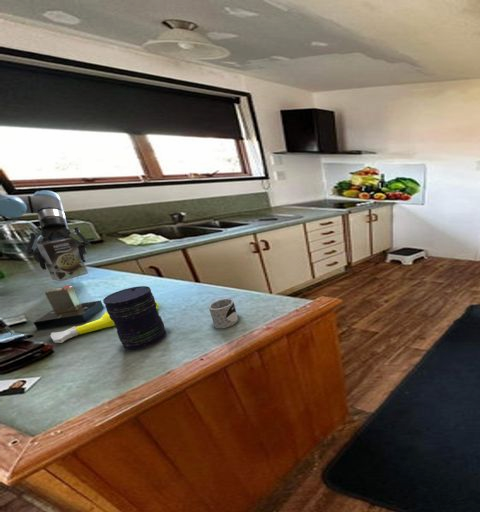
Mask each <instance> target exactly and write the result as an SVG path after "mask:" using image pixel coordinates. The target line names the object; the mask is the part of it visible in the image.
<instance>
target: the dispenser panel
mask: <svg viewBox="0 0 480 512" xmlns="http://www.w3.org/2000/svg"><path fill="white" fill-rule="evenodd" d="M80 304H81V306H82V307H81V308H80V309H79V310H77V311H71V312H65V313H58V314H56V313H55V311H54V309H52V310H50V311H48V312H47V313H45V314H44V315H43V316H41V317H39V318H38V319H36V320H35V321H33V323H32V324H33V325H34V327H35V328H36V330H37V331H42V330H48V329H55V328H60V327H66V326H67V327H68V326H72V325H78V324H86V322H87V323H88V321H90V320H91V319H92V318H93V317H94V316H96V315H97V314H98V313H99V312H101V311H102V310H103V309H104V308H105V306H104V303H103V301H102V300H96V301H95V300H93V301H88V302H82V303H81V302H80Z"/></svg>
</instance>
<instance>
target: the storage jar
mask: <svg viewBox="0 0 480 512" xmlns="http://www.w3.org/2000/svg"><path fill="white" fill-rule="evenodd" d="M155 301H156V298H155V296H154V294H153V292H152V290H151V287H150V286H145V285H141V286H139V285H138V286H132V287H128V288H123V289H121V290H117V291H115V292H112V293H111V294H108V295H107V296H105V297H104V298H103V299H102V303H103V305H104V307H105V309H106V312H108V314H109V317H110V318H111V320H113V321H114V324H115V326H114V327H115V328H116V334H117V336H118V339H119V342H121V345H123V346H122V347H123V349H124V351H126V352H127V351H128V352H134V351H140V350H144V349H147V348H150V347H152V346H154V345H156V344H158V343H159V342H161V341H162V340H163V339H165V338H166V336H167V334H168V333H167V330H166V327H165V323H164V321H163V319H162V316H160V314H159V311H158V309H157V308H156V302H157V301H156V302H155Z"/></svg>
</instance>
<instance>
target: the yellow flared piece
mask: <svg viewBox="0 0 480 512" xmlns="http://www.w3.org/2000/svg"><path fill="white" fill-rule="evenodd" d="M155 302H156V308H157V310H159V308H160V306H159V303H158V302H157V301H156V300H155ZM113 327H116V326H115V324H114V321H113V320H111V318H110V317H109V314H108V312H107V311H106V312H104V313H103V315H102V316H101V317H100V318H98V319H96V320H93V321H90V322H87V323H84V324H83V325H82V324H81V325H77V326H75V325H74V326H72V327H70V328H68V329H66V330H64V331H57V332H54V331H53V332H51V333H50V338H51V340H52V341H53V343H56V344H57V343H58V344H62V343H64V342H65V341H67V340H69V339H71V338H74V337H76V336H78V335H83V334H87V333H90V332H95V331H98V330H103V329H108V328H113Z"/></svg>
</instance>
